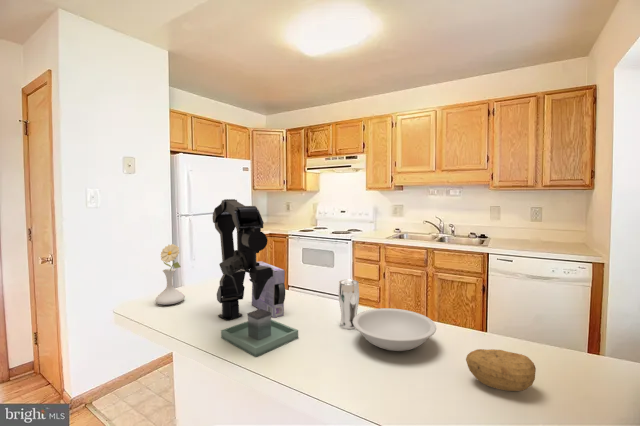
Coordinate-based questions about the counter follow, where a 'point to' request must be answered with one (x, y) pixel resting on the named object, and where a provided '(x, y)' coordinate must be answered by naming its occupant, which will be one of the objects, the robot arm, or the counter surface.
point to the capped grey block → (259, 324)
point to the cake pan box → (272, 292)
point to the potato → (502, 369)
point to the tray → (256, 348)
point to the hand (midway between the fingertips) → (247, 296)
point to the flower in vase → (170, 277)
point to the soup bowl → (394, 328)
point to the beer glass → (348, 302)
